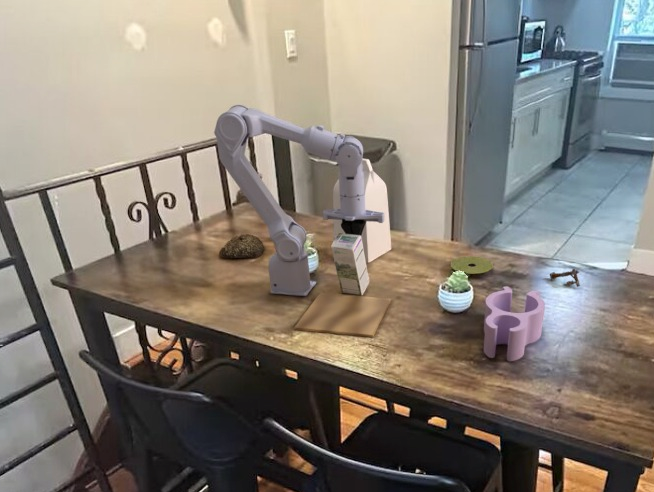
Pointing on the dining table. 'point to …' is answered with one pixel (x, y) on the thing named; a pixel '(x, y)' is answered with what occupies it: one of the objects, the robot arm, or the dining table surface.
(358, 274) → the syrup box
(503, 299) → the clip
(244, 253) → the bread roll
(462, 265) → the mat
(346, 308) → the wooden board
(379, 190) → the milk
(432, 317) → the dining table surface
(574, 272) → the wooden post with brackets
